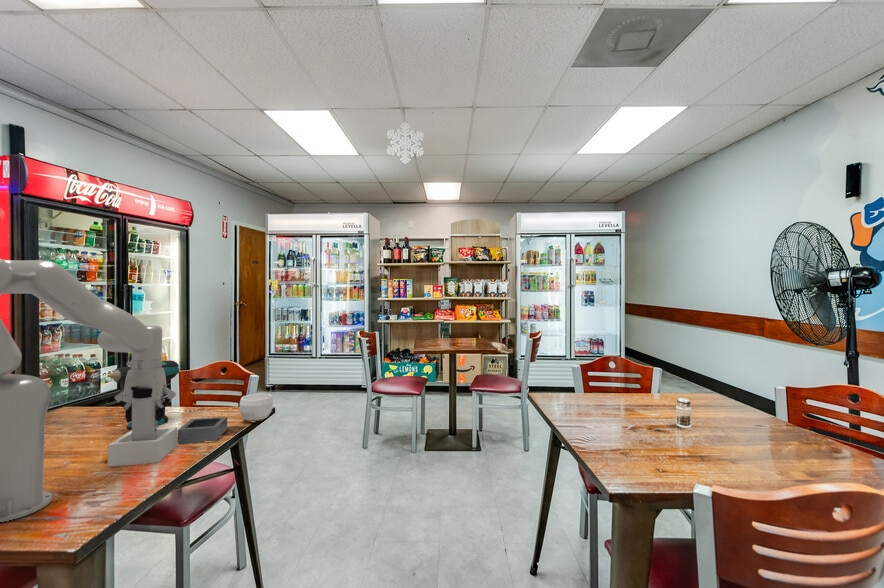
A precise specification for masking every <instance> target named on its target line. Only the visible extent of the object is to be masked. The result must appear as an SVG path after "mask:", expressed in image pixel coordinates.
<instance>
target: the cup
mask: <svg viewBox="0 0 884 588" xmlns="http://www.w3.org/2000/svg"><path fill="white" fill-rule="evenodd" d="M273 404H274V400H273V397H272V394H270V393H263V392H262V393H251V394H247V395H243V396H242V397H241V398H240V401H239V412H240V416H241V418H242V419H243V420H244V421H245V420H246V421H248V422H249V421H260V420H261V421H260V422H262V421H264V419H267V418H268V417H269V416H270V414H271V412H272V410H273V407H274V405H273Z"/></svg>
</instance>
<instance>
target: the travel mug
mask: <svg viewBox="0 0 884 588" xmlns="http://www.w3.org/2000/svg"><path fill="white" fill-rule="evenodd" d="M131 390H133V392H132V394H133V396H132V399H133V400H132V421H131V422H132V428H131V430H132V441H146V440H156V439H157V428H158V426H157V403H156V401H154V402H153V401H151V398H152V395H151V394H152V388H151V389H137V388H136V387H131Z"/></svg>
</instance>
